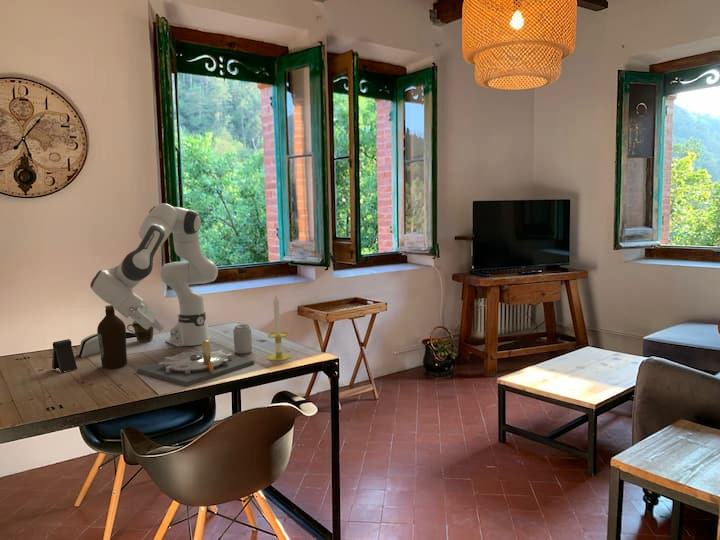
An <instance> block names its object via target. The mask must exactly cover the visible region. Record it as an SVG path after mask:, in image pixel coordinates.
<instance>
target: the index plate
mask: <svg viewBox="0 0 720 540" xmlns="http://www.w3.org/2000/svg"><path fill="white" fill-rule="evenodd" d="M161 362H164V360H162V361H159V362H155V363H151V364H148V365H144V366H141V367H137V368H136V371H137V373H139V374H142V375H146V376H150V377H154V378H156V379H160V380H164V381H166V382H167V381H169V382H170V383H171V382H172V383H175V384H178V385H181V386H186V387H188V386H191V385H194V384H196V383H200V382H203V381H206V380H209V379H213V378H215V377H216V378H217V377H219V376H221V375H225V374H228V373H231V372H233V371H237V370H239V369H240V370H241V369H243V368H246V367H250V366H252V365H255V360H254V359H250V358H249V359H248V358H245V357H241V356H236V355H232V360H229V365H227V366H224V365H222V366H220V367H218V368H214V370H213V362H209V371H207V370H206V371H200V372H191V374H185V373H178V372H172V373H166V369H165V368H163V369H160V368H159V363H161Z"/></svg>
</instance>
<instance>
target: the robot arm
mask: <svg viewBox="0 0 720 540" xmlns="http://www.w3.org/2000/svg"><path fill="white" fill-rule="evenodd" d="M201 225H202V217H201V215H200V214H199V212H198V211H196V210H193V209H187V208H185V207H179V206H173V205H171V204H168V203H166V202H165V203H164V202H163V203H162V202H161V203H159V204H157V205H155V206H153V207H152V208H151V209H150V210H149V212H148V214H147V215H146V217H145V218H144V220H143V222H142V224H141V225H140V228H139V232H138V235H139V238H140V239H141V241H140V243H139V244H138V246H137V247H136V249H135V250H133V251H131V252H129V253H127V254H126V256H125V257H124V259H122V261H121V262H119V264H118V265H116V266H114V267H111V268H108V269H100V270H99V271H97V273H96V274H95V276H94V277H93V278H92V280H91V282H90V285H89V286H90V289H91V290H92V292H93V293H94V294H95V295H96V296H97V297H99V298H100V299H101V300H103V301H104V303H107V304H108V305H109V304H110V305H112V306H113V307H114V311H116V312H118V313H119V314H120V315H122V316H123V317H125V318H126V319H127V318H129V317H130V318H131V319H132V320H133V321H136V322H137V323H138V324H139V325H141V326H142V327H143V328H144V329H146V330H148V329H149V328H150V327H153V328H154V330H157V331H158V332H162V331H163V330H164V325H162V324H161V323H160V322H159V321H158V319H156V315H157V313H156V312H155V311H154V309H153V308H152V307H150V306H149V305H148V303H146V302H145V301H144V298H143V297H141V296H140V295H139V294H138V293H137V292H135V291H134V290H133V289H134V288H136V287H137V286H138V285H139V284H140V283H141V282H142V281H143V280H144V279H145V278H147V277H148V276H149V275H150V274H151V273H152V271H153V266H154V256H155V255H156V252H157V251H158V249H159V247H161V245H163V244H164V243H165V242H166V241H167V239H168V238H169V237H170V235H171V233H172V238H173V239H172V240H173V248H174V249H173V250H174V253H175V254H176V255H177V256H178V257H179V258H181V259H184V260H185V261H184V260H183V261H182V260H181V261H172V262H168V263H165V264H163V265H162V266H161V269H160V273H159V274H160V278H161V281H162V282H163V283H164V284H165V285H167V286H168V287H170V288H171V289H172V290H173V291H174V293H175V294H176V296H177V300H178V305H179V314H177V318H178V319H177V322H176V323H175V325H173V326H172V328H170V331H169V332H170V333H169V334H170V335H169V338H167V339H165V341H164V342H165V343H168V344H170V345H173V346H175V347H189V346H190V347H191V346H200V345H202V341H203V340H209V341H210V342H211V340H212V336H211V335H210V332H209V326H208V322H207V321H206V320H207V313H206V311H205V302H204V301H205V300H204V299H205V298H204V296H203V295H202V294H201V293H200V292H198V291H195V290H192V289H191V288H190V286H189V285H196V284H197V285H198V284H201V285H202V284H207V283H211V282H214V281H215V280H216V279H217V278H218V274H219V269H218V266H217V264H216V263H215V262H214V261H213V260H211V259H209V258H208V257H206V256H205V254H204V252H203V251H202V249H201V245H200V235H199V230H200V228H201Z"/></svg>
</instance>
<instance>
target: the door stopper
mask: <svg viewBox="0 0 720 540" xmlns="http://www.w3.org/2000/svg"><path fill="white" fill-rule="evenodd" d="M72 345H73V344H72V340H71V339H63V340H58V341H54V342H52V362H51V369H52V368H53V369H56V368H59V369H60V371H61V372H64V371H68V370H73V371H75V370H74V369H77V370H78V366H77V363H76V358H75V355H74V351H73V346H72Z"/></svg>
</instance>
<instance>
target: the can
mask: <svg viewBox="0 0 720 540" xmlns="http://www.w3.org/2000/svg"><path fill="white" fill-rule="evenodd" d="M252 343H253V341H252V328H251V327H250V325H249V324H243V323H241V324H236V325H234V329H233V344H234V345H233V348H234V352H235V353H236V354H237V355H246V354H250V353H251V351H253V346H252V345H253V344H252Z"/></svg>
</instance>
